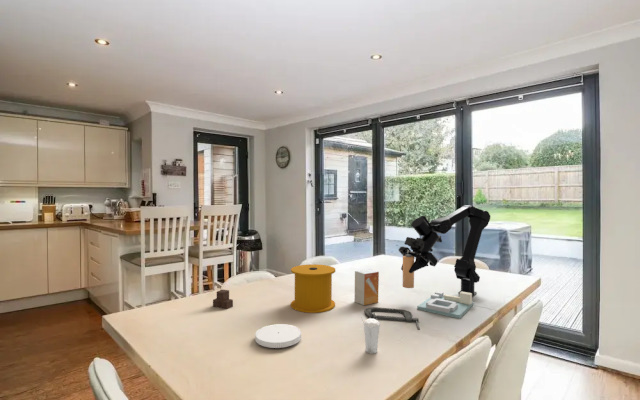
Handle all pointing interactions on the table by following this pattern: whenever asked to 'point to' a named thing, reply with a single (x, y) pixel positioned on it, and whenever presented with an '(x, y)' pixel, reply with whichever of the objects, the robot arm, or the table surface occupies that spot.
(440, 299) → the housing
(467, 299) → the cream block
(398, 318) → the c clamp
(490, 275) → the table surface
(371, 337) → the milkshake
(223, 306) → the stack of crates
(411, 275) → the jaw post
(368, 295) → the small box
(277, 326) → the plastic lid
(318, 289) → the spool
